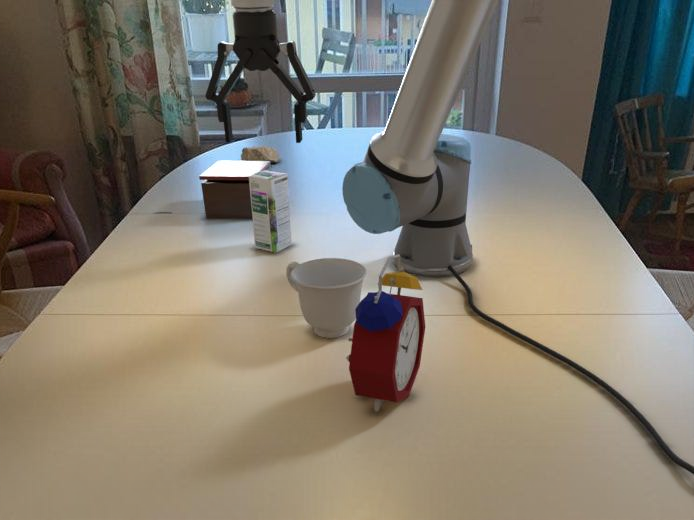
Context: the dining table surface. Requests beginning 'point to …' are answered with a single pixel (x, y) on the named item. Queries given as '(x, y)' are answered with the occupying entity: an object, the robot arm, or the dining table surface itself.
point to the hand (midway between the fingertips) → (264, 141)
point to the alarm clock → (387, 339)
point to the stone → (259, 154)
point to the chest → (227, 199)
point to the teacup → (328, 293)
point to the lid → (234, 170)
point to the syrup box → (270, 210)
